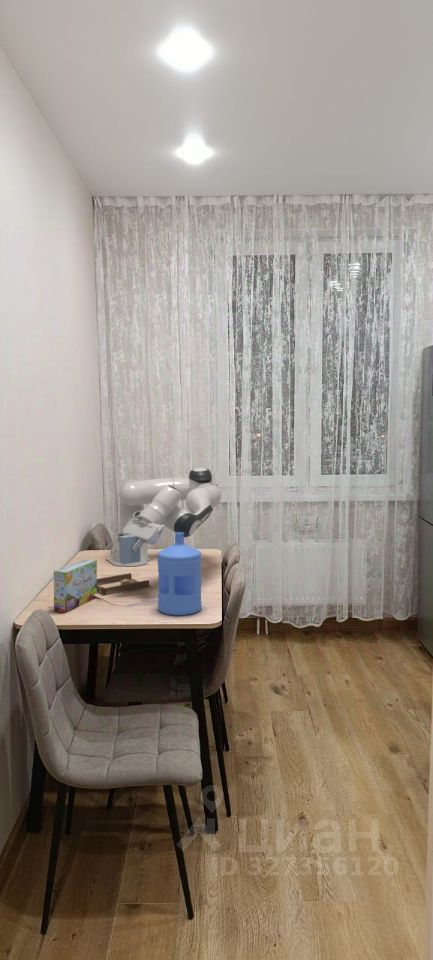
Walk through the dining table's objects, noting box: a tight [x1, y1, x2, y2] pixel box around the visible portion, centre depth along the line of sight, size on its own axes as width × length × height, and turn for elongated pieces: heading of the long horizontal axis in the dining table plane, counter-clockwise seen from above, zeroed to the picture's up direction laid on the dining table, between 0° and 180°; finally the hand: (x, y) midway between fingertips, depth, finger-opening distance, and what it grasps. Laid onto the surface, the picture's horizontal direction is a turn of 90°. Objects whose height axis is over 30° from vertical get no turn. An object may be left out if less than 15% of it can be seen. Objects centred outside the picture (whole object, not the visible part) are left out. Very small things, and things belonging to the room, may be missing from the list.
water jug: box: [157, 532, 202, 616], centre depth 229 cm, size 16×16×28 cm
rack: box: [97, 572, 152, 600], centre depth 255 cm, size 15×21×4 cm
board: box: [118, 535, 140, 564], centre depth 241 cm, size 4×7×10 cm, turn 128°
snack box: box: [53, 558, 98, 614], centre depth 236 cm, size 21×6×15 cm, turn 160°
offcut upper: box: [120, 579, 138, 585], centre depth 257 cm, size 6×3×2 cm, turn 61°
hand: (129, 548), depth 241 cm, fingers closed on board, 3 cm apart
